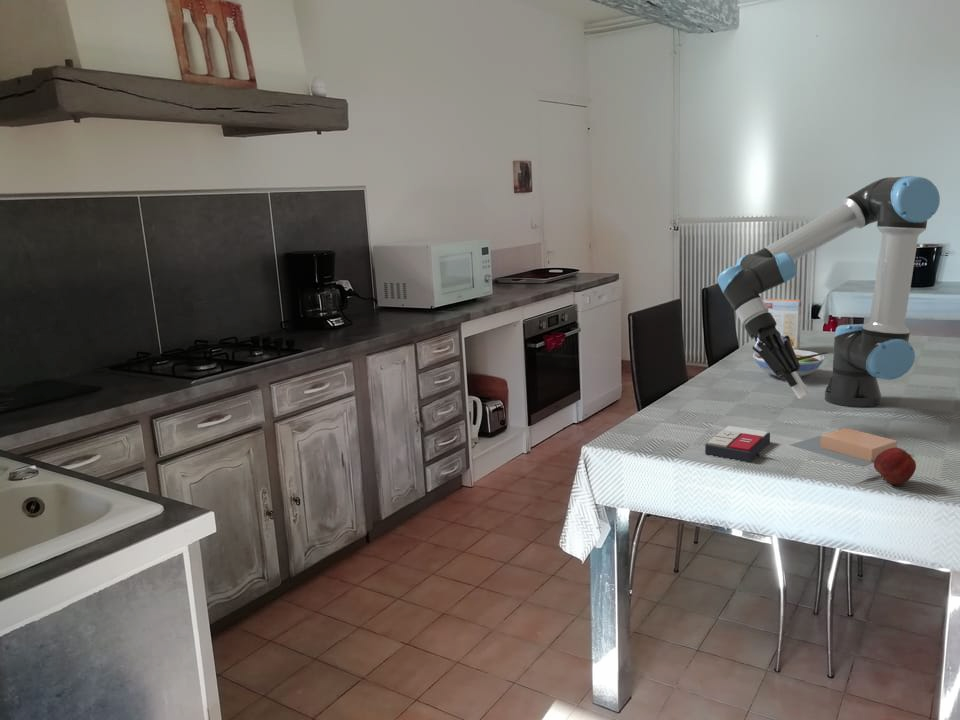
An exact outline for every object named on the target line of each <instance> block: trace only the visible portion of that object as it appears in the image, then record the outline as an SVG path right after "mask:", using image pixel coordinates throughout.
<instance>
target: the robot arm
mask: <svg viewBox="0 0 960 720" xmlns="http://www.w3.org/2000/svg"><path fill="white" fill-rule="evenodd" d="M940 197H941V196H940V193H939V190H938V187H937V186H936V185H935V184H934V183H933V181H931V180H930V179H928V178H927V177H926V178H925V177H921V176H916V175H915V176H914V175H908V176H906V175H905V176H898V177H897V176H896V177H895V176H894V177H884V178H880V179H878V180H875V181H873V182H871V183H870V184H867V185H866V186H864V187H862V188H861V189H859V190H857V191H855V192H853V193H851V194H849V195H848V196H846V197H845V198H843V199H842V201H841V204H840V205H838V206H836V207H834V208H833V209H830V210H829V211H827V212H826V213H824V214H822V215H820V216H819V217H816V218H815V219H813V220H811V221H809V222H808V223H806V224H804V225H802V226H800V227H799V228H797V229H795V230H793V231H792V232H790V233H788V234H787V235H785V236H782V237H781V238H780V239H777V240H776V241H775V242H774V241H773V242H772V243H771V244H769V245H767V246H765V247H763V248H762V249H760V250H758V251H756V252H754V253H748V254H743V255H742V256H741V257H739V259H738V260H737V262H736V263H735V265H733V266H729V267H728V268H726V269H725V270H723V271H722V272H720V273H719V275H717V276H718V277H717V279H716V281H717V284H718V286H719V288H720V289H721V292H722V294H723V295H724V296H725V299H726V300H727V301H728V303H729V304H730V305H731V307H732V309H733V311H734V312H735V314H736V315H737V317H738V319H739V320H740V322H741V324H742V325H744V329H745V331H746V332H747V334H748V336H749V338H751V339H754V341H755V344H754V345H753V346H752V350H753V351H755V352H757V353H758V354H759V355H760V356H761V357H762V358H763V360H764V361H765V362H766V363H767V364H768V366H769V367H770V368H771V369H772V371H773V372H774V373H775V374H776V375H777V376H779V375H781V376H780V378H779V379H783V377H785V381H786V382H787V383H788V385H789V387H790V388H791V389H792V391H793V393H794V394H795V395H796V397H797V399H798V400H800V399H803V398H804V397H806V396H808V395H809V394H810V391H809V389H808V388H807V386H806V385H805V383H804V381H803V379H802V376H799V374H798V372H797V370H799V369H800V364H799V362H798V359H797V357H796V355H795V353H794V350H793V348H792V346H791V343H790V337H789V336H788V335H786V336H785V337H784V336H781V335H780V333H779V332H778V331H777V330H776V328H775V326H776V321H775V319H774V318H773V316H772V315H771V313H769V312H768V310H769V309H768V308H767V306H766V305H765V303H764V302H763V300H764V299H762V296H761V295H760V294H763V293H764V292H765V293H766V291H768V290H771V289H773V288H776V287H778V286H781V285H782V284H784V283H787V282H788V281H790V280H791V279H794V278H795V277H796V276H797V273H798V272H797V266H796V262H795V261H797V260H799V259H800V258H802V257H804V256H806V255H807V254H810V253H811V252H814V251H815V250H817V249H819V248H820V247H822V246H825V245H826V244H827V243H829V242H831V241H833V240H835V239H837V238H839V237H841V236H842V235H844V234H846V233H848V232H849V231H852V230H853V229H855V228H857V229H862V228H864V227H866V226H868V225H870V224H873V223H877V224H876V228H877V230H878V231H879V232H880V233H881V240H880V247H879V254H878V260H877V268H876V272H875V273H876V275H875V282H874V289H873V295H872V302H871V309H870V316H869V321H868V322H867V323H859V324H856V323H855V324H840V325H837V327H836V328H835V332H834V336H833V339H834V341H833V343H834V344H833V360H832V361H833V362H832V363H833V364H832V374H831V376H830V379H829V381H828V384H827V386H826V388H825V391H824V400H825V401H827V402H829V403H830V404H831V403H832V404H835V405H838V406H845V407H855V408H858V407H859V408H864V407H865V408H868V407H874V406H875V407H876V406H878V405H881V403H882V394H881V389H880V386H879V382H878V379H881V380H888V381H891V380H896V379H899V378H901V377H903V376H904V375H905V374H907V373H908V372H909V371H910V369H912V367H913V365H914V363H915V359H916V353H915V349H914V348H913V345H912V344H911V343H909V339H910V334H911V333H910V332H911V331H910V329H909V328H908V327H907V326H906V317H907V311H908V305H909V300H910V299H909V298H910V294H911V293H910V292H911V286H912V280H913V272H914V266H915V259H916V253H917V247H918V246H917V245H918V240H919V236H920V235H921V234H922V233H923V232H924V231H926V230H927V227H928V226H927V225H928V220H930V219H931V218H932V217H933V216H934V215H935V214H936V212H937V211H938V209H939V207H940V199H941V198H940Z"/></svg>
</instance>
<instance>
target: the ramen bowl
mask: <svg viewBox="0 0 960 720" xmlns="http://www.w3.org/2000/svg"><path fill="white" fill-rule="evenodd" d="M794 353H795V355H796V357H797V359H798V362H799V364H800V369H799V370H797V372H798V374H799V376H800V377H804V376H807V375H809V374H811V373H813V372H815V371H816V370H817V369H818V368H819V367H820V366H821V365H822V363H823V362H824V360H825V355H826V354H828V352H827V351H825V352H821V353H818V352H814V351H810V350H801V349H799V350H794ZM752 357H753V359H754V361H755V363H756V364H757V366H758V367H759V368H760V369H762V370H763V371H764V372H766V373H768V374H770V375H772V376H775V377H776V378H778V377H779V379H781V378H780V376H781V375H779V376H777V375H776V374H775V373H774V372H773V371H772V369H771V368H770V367H769V366H768V364H767V363H766V362H765V361H764V360H763V358H762V357H761V356H760V355H759V354H758V353H757V352H756V351H755V352H753V354H752ZM783 378H784V379H785V377H783ZM783 378H782V379H783ZM785 380H786V379H785Z"/></svg>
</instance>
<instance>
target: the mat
mask: <svg viewBox="0 0 960 720" xmlns="http://www.w3.org/2000/svg"><path fill="white" fill-rule="evenodd" d="M826 434H828V433H827V432H826ZM820 442H821V435H818V436H814V437H812V438H809V439H808V438H807V439H803V440H800V441H798V442H794V443H791V444H790V447H791V446H792V447H794V448H799V449H802V450H805V451H809V452H812V453H816V454H819V455H822V456H825V457H829V458H833V459H835V460H839V461H844V462H846V463H849V464H853V465H857V466H860V467H865V466H867V465H870V464H874V461H872V462H870V461H867V460H863V459H860V458H856V457H852V456H849V455H845V454H842V453H838V452H835V451H831V450H828V449H824V448H821V447H820ZM901 449H902V450H904V451H906V452H908V449H903V448H901Z"/></svg>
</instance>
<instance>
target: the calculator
mask: <svg viewBox="0 0 960 720" xmlns="http://www.w3.org/2000/svg"><path fill="white" fill-rule="evenodd" d="M770 443H771V433H770V432H768V431H764V430H760V429H759V430H758V429H751V428H747V427H738V426H733V425H728V426H726V427H724V429H722V430H720V431H719V432H718V433H717V434H716V435H715V436H713V437H712V438H711V439H710V440H708V442H706V443H705V444H704V445H705V448H704V449H705V451H704V454H706V456H710V455H713V456H712V457H716V456H718V457H717V458H721V457H723V459H726V458H729V459H728V460H732V459H735V460H734V461H737V460H740V461H739V462H743V461H746V462H745V463H751V462H752V461H754V460H755V459H756V458H757V457H758V456H759V455H760V452H761V451H762V450H763V449H764V448H766V447H767V446H768V445H769V444H770ZM756 456H757V457H756ZM754 458H755V459H754ZM753 459H754V460H753Z"/></svg>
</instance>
